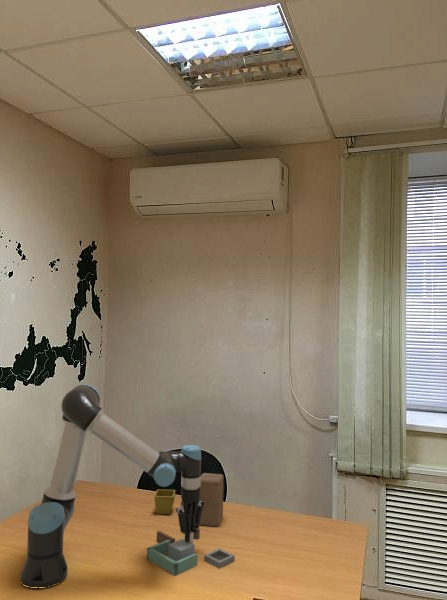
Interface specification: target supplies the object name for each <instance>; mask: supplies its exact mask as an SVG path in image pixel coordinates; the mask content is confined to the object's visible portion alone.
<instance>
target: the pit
mask: <svg viewBox="0 0 447 600" xmlns="http://www.w3.org/2000/svg"><path fill="white" fill-rule="evenodd" d="M235 558H236V557H235V555H234V554H232V553H230V552H228V551H226V550H224V549H222V548H217V549H215V550H213V551H210V552H208V553H206V554H204V562H206V563H208V564H209V565H212V566H214V567H216V568H218V569H222V568H223V567H226V566H227V565H230V564H232V563H234V562H235Z"/></svg>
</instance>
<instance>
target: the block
mask: <svg viewBox="0 0 447 600" xmlns="http://www.w3.org/2000/svg"><path fill="white" fill-rule="evenodd" d="M195 546H196V545H195V544H194V543H193V544H192V543H190V542H186V541H185V538H181V539H178V540H175V542H173V543H171V544H168V552H167V553H168V554H167V557H168V558H170V559H172V560H174V561H179V560H181V559H183V558H185V557H187V556H190V555H192V554H194V553H196V552H195V551H196V550H195V549H196V547H195Z"/></svg>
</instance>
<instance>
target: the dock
mask: <svg viewBox="0 0 447 600" xmlns="http://www.w3.org/2000/svg"><path fill="white" fill-rule="evenodd" d="M168 544H171V540H166V541H164V542H161V543H157V544H154V545H152V546H148V547H146V560H148V561H149V562H152V564H155V565H156V566H157V567H160V568H162V569H163V570H164V571H167V572H168V573H170V574H172V575H174V576H175V577H176V576H178V575H179V574H182V573H184V572H186V571H188V570H190V569H193V568H194V567H197V566H198V553H196V552H195V553H194V554H192V555H190V556H187V557H185V558H183V559H181V560H179V561H174V560H172V559H170V558H168V555H166V554H167V553H168Z"/></svg>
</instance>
